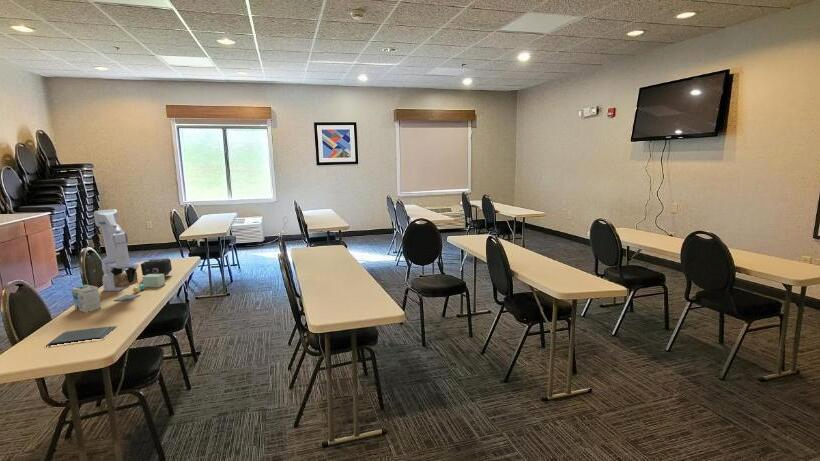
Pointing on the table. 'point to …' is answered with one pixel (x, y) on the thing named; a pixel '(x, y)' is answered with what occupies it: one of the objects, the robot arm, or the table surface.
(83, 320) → the table surface
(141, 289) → the marble
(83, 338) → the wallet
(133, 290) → the marble
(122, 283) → the brown box
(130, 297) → the slate mat
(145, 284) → the sage cover
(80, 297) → the light bulb box
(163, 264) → the camera
